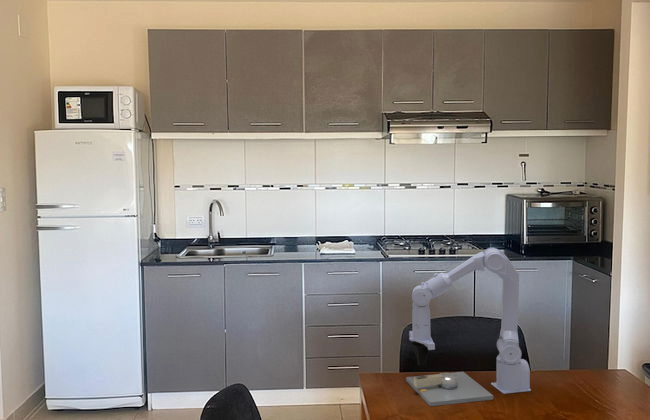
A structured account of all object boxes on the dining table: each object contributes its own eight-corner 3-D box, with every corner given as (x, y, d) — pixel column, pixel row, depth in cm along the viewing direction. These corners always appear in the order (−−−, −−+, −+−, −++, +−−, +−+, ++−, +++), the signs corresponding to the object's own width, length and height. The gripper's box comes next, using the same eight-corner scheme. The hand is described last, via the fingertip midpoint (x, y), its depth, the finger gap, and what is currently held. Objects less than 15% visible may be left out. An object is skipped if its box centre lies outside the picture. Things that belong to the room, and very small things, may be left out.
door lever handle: (451, 381, 174) (451, 369, 174) (461, 388, 168) (461, 376, 168) (411, 386, 170) (411, 374, 170) (419, 393, 165) (419, 382, 164)
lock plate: (463, 375, 182) (463, 370, 182) (493, 399, 163) (493, 394, 163) (406, 380, 178) (406, 376, 178) (429, 406, 159) (429, 401, 159)
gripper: (400, 319, 181) (401, 359, 182) (419, 331, 167) (420, 374, 168) (420, 317, 183) (420, 356, 184) (440, 328, 169) (441, 371, 170)
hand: (421, 365), depth 176 cm, fingers closed
